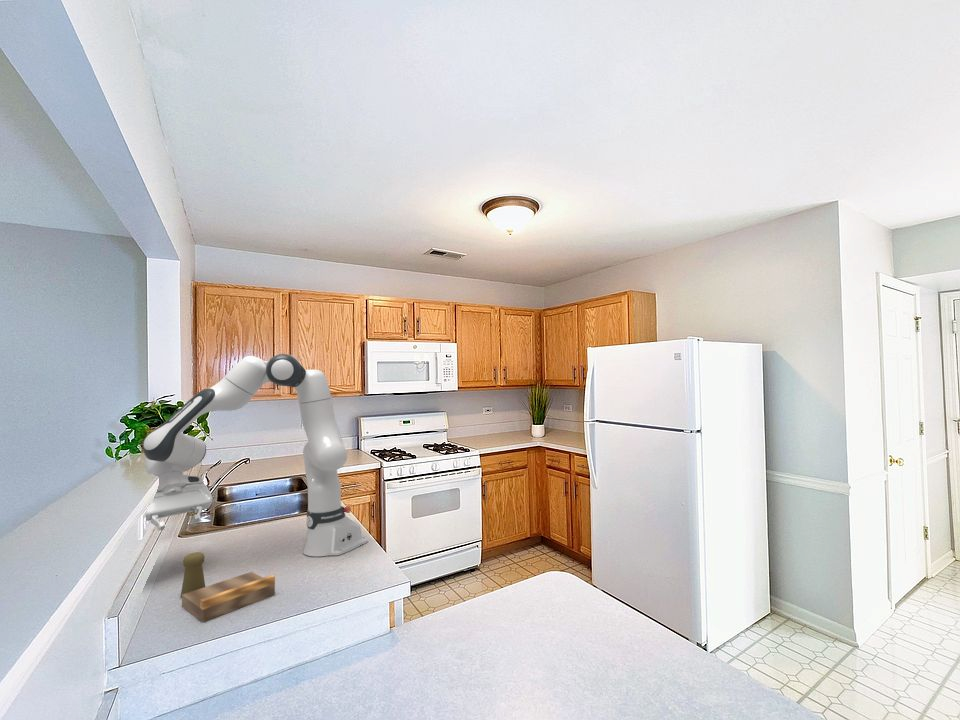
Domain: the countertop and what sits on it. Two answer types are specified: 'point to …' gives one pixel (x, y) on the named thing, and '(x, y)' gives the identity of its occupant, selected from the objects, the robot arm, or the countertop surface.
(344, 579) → the countertop surface
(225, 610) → the dock
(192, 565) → the cork
